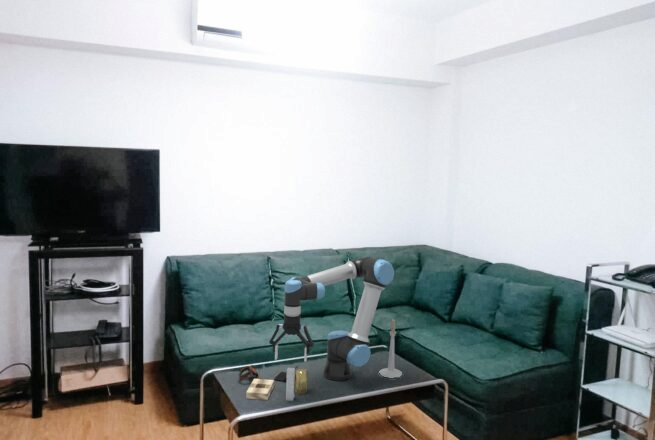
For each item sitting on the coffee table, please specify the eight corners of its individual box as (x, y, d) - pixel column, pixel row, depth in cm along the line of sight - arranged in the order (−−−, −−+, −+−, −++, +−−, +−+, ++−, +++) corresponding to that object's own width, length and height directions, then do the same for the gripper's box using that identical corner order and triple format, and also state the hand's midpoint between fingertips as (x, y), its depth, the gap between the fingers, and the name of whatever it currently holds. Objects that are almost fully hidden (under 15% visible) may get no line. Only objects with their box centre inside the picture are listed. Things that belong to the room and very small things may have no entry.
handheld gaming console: (277, 369, 263) (288, 357, 261) (288, 378, 263) (299, 365, 261) (271, 381, 252) (283, 368, 249) (283, 390, 252) (295, 377, 250)
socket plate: (273, 386, 246) (274, 380, 246) (267, 400, 230) (267, 393, 230) (253, 384, 247) (254, 378, 247) (246, 398, 231) (246, 392, 231)
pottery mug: (259, 385, 247) (251, 372, 245) (242, 392, 249) (234, 379, 246) (263, 370, 258) (255, 358, 256) (247, 377, 260) (239, 364, 258)
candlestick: (373, 373, 267) (376, 318, 265) (389, 368, 275) (392, 314, 273) (392, 381, 257) (394, 323, 255) (408, 375, 266) (410, 319, 263)
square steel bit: (294, 397, 234) (295, 368, 233) (293, 400, 230) (294, 371, 229) (287, 397, 234) (287, 367, 233) (285, 400, 231) (286, 370, 230)
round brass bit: (307, 389, 243) (308, 369, 243) (306, 394, 238) (306, 373, 237) (296, 388, 244) (297, 368, 243) (294, 393, 238) (295, 372, 238)
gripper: (320, 313, 232) (318, 358, 234) (267, 310, 234) (265, 355, 236) (318, 318, 225) (316, 364, 226) (263, 314, 227) (262, 360, 228)
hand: (290, 359), depth 231 cm, fingers open, 13 cm apart
